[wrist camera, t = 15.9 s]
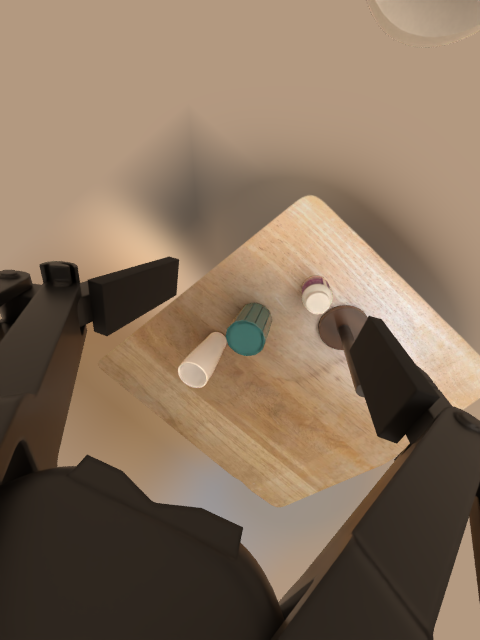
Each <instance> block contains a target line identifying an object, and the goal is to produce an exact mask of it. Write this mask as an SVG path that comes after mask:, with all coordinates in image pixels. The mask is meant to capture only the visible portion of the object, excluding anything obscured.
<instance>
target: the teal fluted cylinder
mask: <svg viewBox="0 0 480 640" xmlns="http://www.w3.org/2000/svg"><path fill="white" fill-rule="evenodd" d="M271 322H272V317H271V314H270V311H269V310H268V309H267V308H266V307H265V306H263V305H261V304H258V303H250V304H247V305H245V306H244V307H243V308H242V309H241V310H240V311H239V313H238V314H237V315H236V317H235V318H234V320H233V321H232V323H231V324H230V325H229V327H228V328H227V332H226V340H227V342H228V345H229V347H230V348H231V349H233V350H234V351H235V352H236V353H238V354H241V355H244V356H251V355H256V354H257V353H259V352H260V351H261V350H262V349H263V347H264V344H265V341H266V338H267V335H268V332H269V329H270V325H271Z"/></svg>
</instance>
